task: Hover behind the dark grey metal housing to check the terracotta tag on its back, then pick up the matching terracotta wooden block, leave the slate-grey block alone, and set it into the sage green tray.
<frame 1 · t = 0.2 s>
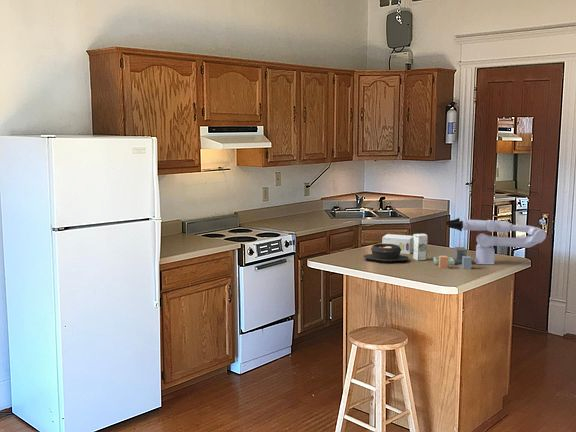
hand: (447, 224, 341), 21 cm above the table, tool horizontal, fingers open, 7 cm apart
slate block: (466, 268, 328), on the table
terracotta block: (443, 267, 330), on the table
supplement box: (398, 251, 376), on the table
sage tray: (443, 263, 341), on the table
casserole: (385, 261, 348), on the table
syrup box: (419, 260, 350), on the table
grey housing: (459, 262, 342), on the table
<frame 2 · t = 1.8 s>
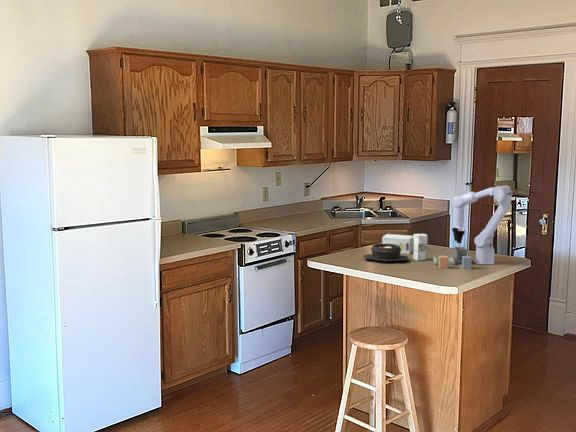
hand: (457, 241, 350), 10 cm above the table, tool pointing down, fingers open, 7 cm apart
nothing on the table moved.
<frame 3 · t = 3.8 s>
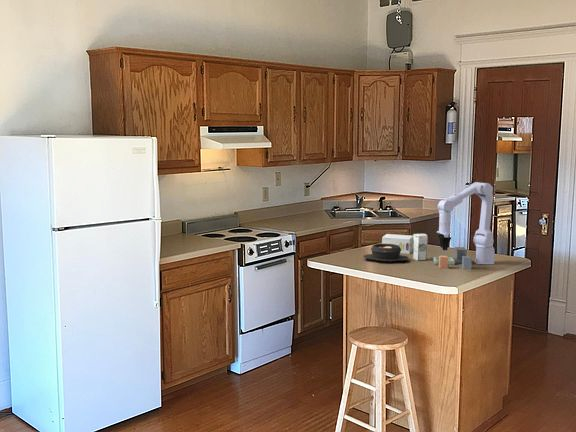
hand: (443, 248, 329), 10 cm above the table, tool pointing down, fingers open, 7 cm apart
nothing on the table moved.
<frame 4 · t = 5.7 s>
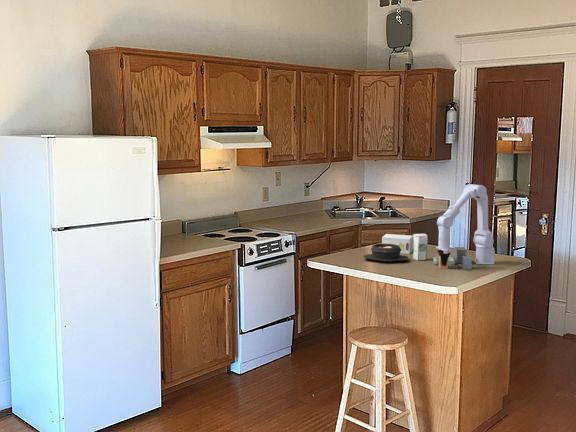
hand: (443, 264, 329), 2 cm above the table, tool pointing down, fingers closed on terracotta block, 4 cm apart
terracotta block: (443, 267, 330), on the table, touching gripper
everything else where it was.
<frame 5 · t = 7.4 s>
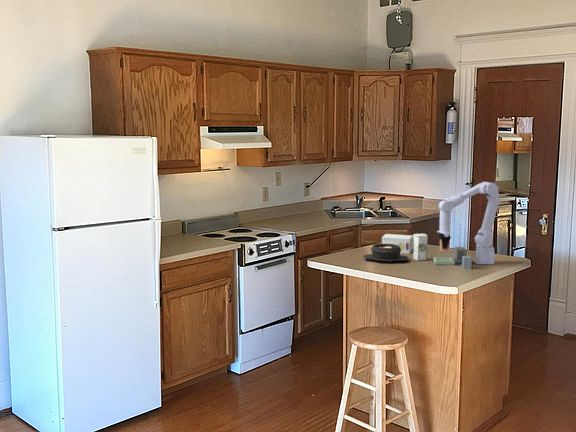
hand: (444, 247, 337), 9 cm above the table, tool pointing down, fingers closed on terracotta block, 4 cm apart
terracotta block: (444, 251, 338), point 7 cm above the table, touching gripper
everything else where it was.
when the fingers open (4 cm above the table, at t = 9.4 s): terracotta block drops 2 cm, resting on sage tray.
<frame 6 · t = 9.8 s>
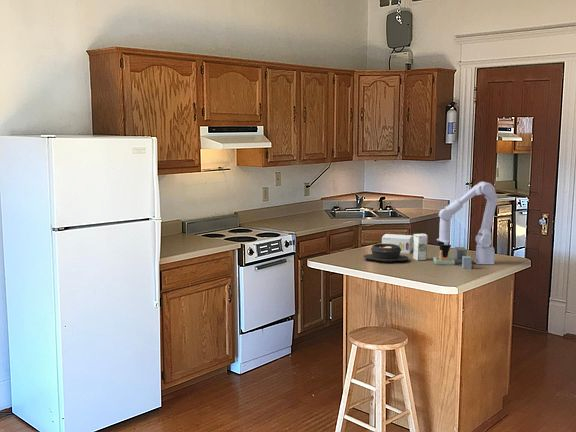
hand: (443, 255, 341), 4 cm above the table, tool pointing down, fingers open, 7 cm apart
terracotta block: (443, 261, 341), point 1 cm above the table, touching sage tray
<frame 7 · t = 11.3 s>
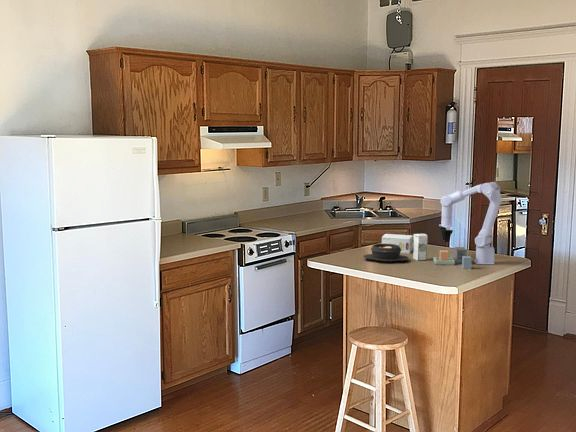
hand: (445, 240, 353), 10 cm above the table, tool pointing down, fingers open, 7 cm apart
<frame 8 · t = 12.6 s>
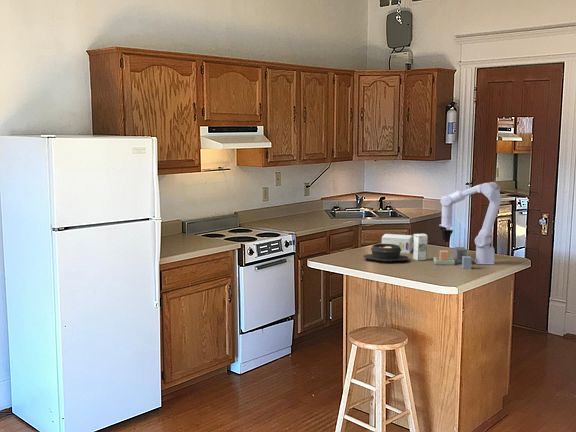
hand: (446, 240, 353), 10 cm above the table, tool pointing down, fingers open, 7 cm apart
at the end: terracotta block 0.1 cm off-centre on the sage tray, point 0.6 cm above the sage tray's base; terracotta block tilted 0°; slate block moved 0.1 cm from its start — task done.
